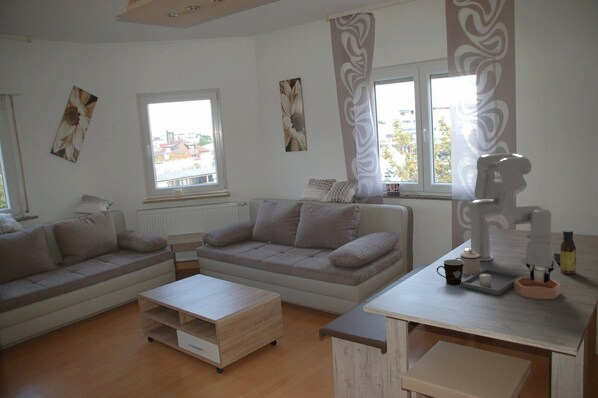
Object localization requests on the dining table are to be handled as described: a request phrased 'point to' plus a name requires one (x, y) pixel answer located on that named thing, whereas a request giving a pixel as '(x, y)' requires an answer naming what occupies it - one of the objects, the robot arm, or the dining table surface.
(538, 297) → the bowl
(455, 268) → the coffee mug
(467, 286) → the parts tray
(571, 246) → the sauce bottle
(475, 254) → the teacup with lid
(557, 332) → the dining table surface
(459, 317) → the dining table surface
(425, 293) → the dining table surface
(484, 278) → the pebble
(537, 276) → the pebble
